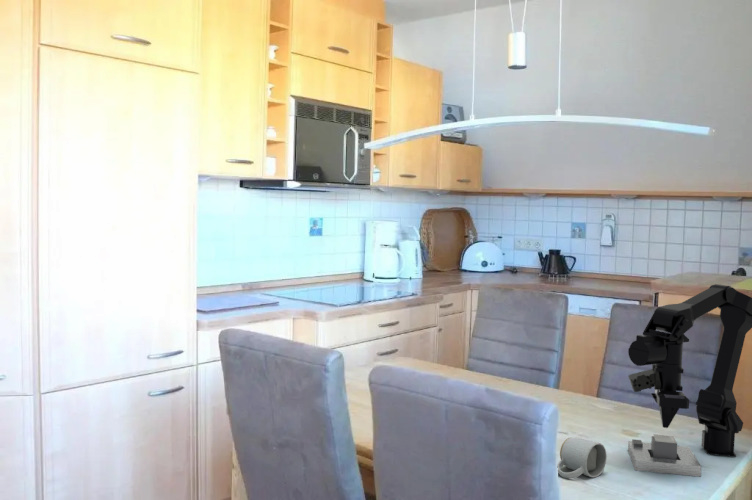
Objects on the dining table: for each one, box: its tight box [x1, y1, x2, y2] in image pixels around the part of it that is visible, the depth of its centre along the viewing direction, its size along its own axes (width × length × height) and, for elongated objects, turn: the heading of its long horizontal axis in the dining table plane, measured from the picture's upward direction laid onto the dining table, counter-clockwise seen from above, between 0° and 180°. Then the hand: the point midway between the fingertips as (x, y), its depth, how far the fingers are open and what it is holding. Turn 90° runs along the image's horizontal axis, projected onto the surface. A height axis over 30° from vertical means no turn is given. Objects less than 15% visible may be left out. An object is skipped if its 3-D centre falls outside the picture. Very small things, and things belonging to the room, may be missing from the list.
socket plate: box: [627, 439, 702, 478], centre depth 166 cm, size 14×13×3 cm
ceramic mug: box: [557, 436, 608, 480], centre depth 158 cm, size 11×8×8 cm
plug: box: [650, 433, 678, 460], centre depth 165 cm, size 5×4×7 cm
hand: (665, 427), depth 164 cm, fingers closed
